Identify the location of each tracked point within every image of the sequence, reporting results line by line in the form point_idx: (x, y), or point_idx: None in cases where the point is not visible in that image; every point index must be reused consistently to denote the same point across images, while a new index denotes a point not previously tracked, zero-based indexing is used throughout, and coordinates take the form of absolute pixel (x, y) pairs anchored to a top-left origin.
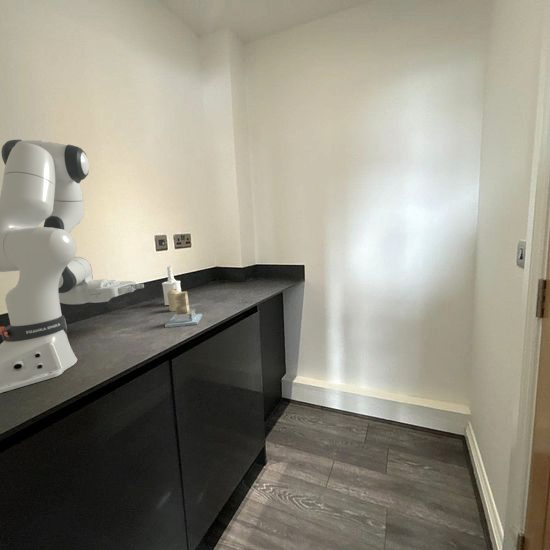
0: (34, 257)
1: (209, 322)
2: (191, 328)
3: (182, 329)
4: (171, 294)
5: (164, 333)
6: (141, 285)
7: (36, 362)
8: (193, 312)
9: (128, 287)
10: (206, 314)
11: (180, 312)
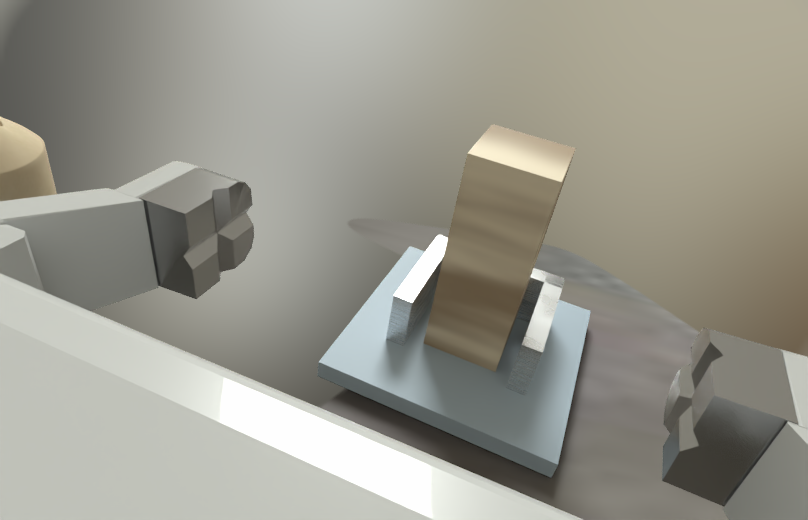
0: None
1: (575, 278)
2: (654, 362)
3: (654, 402)
4: (14, 178)
5: (711, 515)
6: (239, 205)
7: None
8: None
9: (804, 417)
10: (390, 239)
11: (518, 307)
